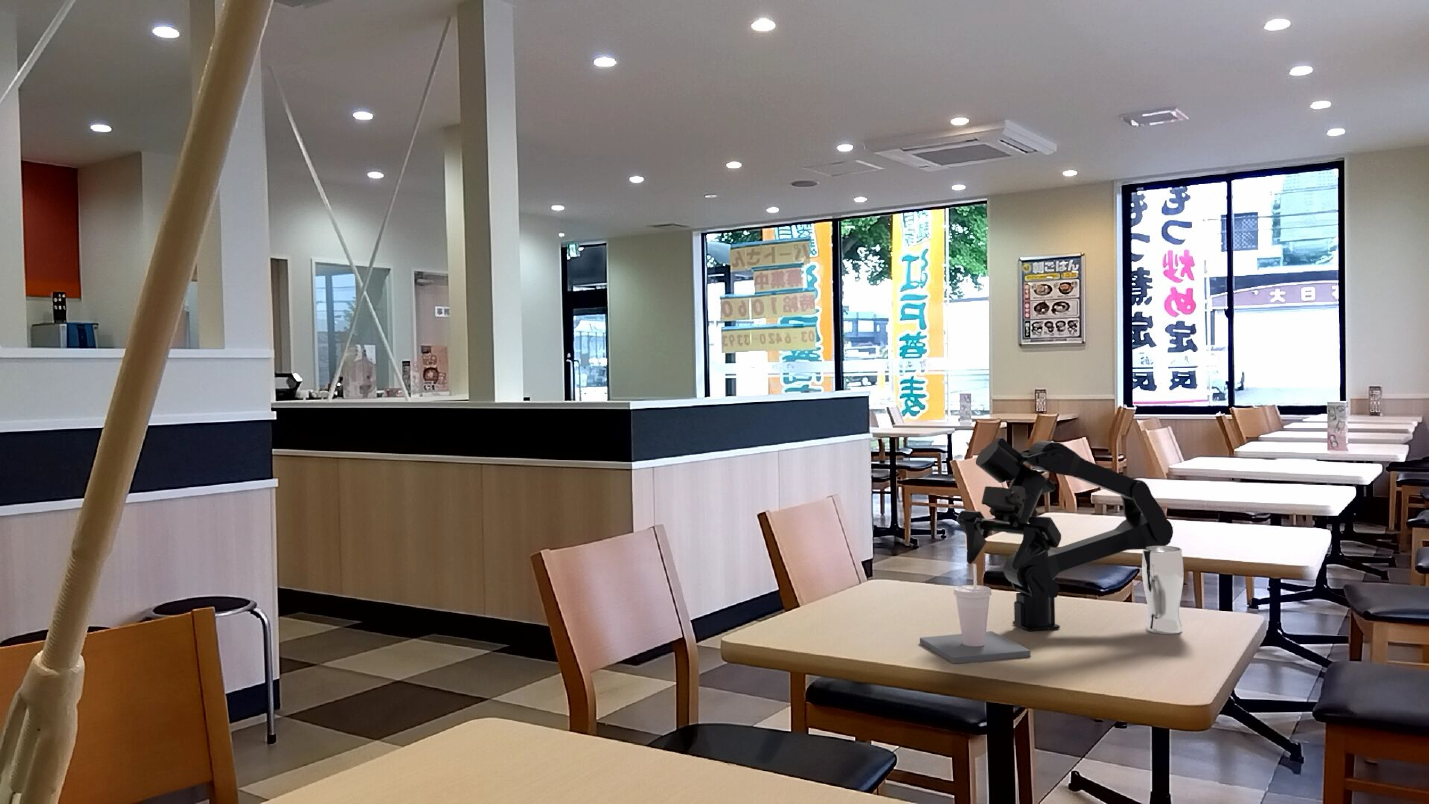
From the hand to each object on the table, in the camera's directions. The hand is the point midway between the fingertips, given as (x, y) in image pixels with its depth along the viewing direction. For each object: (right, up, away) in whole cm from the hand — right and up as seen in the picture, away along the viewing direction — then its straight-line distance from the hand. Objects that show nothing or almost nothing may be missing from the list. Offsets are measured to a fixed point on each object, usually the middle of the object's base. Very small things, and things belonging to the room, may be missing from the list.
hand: (990, 565), depth 188 cm
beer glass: (+33, -13, +4) cm, 35 cm away
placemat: (-4, -14, -5) cm, 15 cm away
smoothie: (-4, -13, -5) cm, 15 cm away
